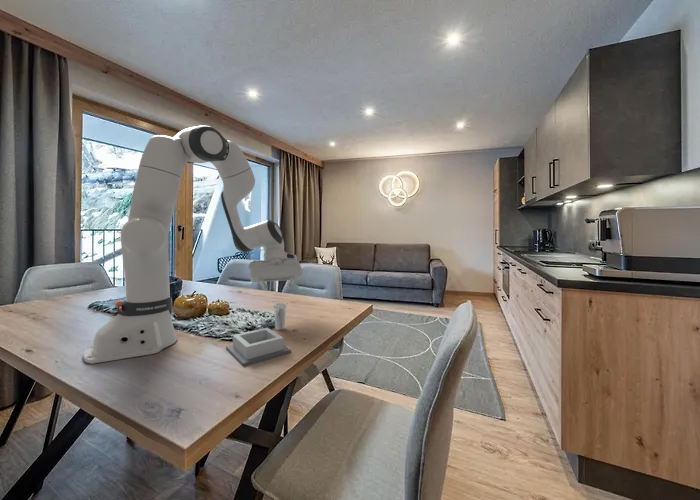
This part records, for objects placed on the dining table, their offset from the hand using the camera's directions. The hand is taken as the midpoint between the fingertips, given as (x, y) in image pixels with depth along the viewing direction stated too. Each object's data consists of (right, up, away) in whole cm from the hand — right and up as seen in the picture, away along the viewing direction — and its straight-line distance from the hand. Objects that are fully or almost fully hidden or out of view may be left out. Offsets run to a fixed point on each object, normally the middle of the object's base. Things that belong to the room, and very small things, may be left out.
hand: (278, 288), depth 114 cm
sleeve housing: (0, -15, -26) cm, 30 cm away
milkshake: (+3, -14, -7) cm, 16 cm away
